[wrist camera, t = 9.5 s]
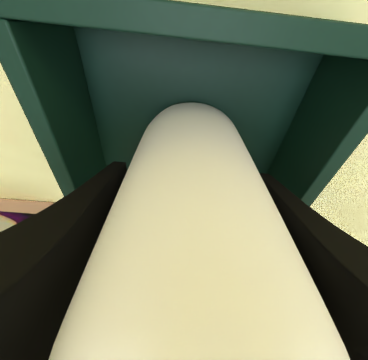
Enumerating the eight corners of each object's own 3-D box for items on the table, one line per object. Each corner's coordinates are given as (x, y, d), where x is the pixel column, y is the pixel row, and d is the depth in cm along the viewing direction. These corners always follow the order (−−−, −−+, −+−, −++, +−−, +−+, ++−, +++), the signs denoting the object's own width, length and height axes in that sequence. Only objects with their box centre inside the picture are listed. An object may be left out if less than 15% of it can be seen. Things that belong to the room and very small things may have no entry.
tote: (251, 213, 17) (268, 259, 14) (109, 203, 17) (88, 249, 13) (342, 32, 9) (447, 33, 5) (56, -2, 8) (-44, -27, 5)
